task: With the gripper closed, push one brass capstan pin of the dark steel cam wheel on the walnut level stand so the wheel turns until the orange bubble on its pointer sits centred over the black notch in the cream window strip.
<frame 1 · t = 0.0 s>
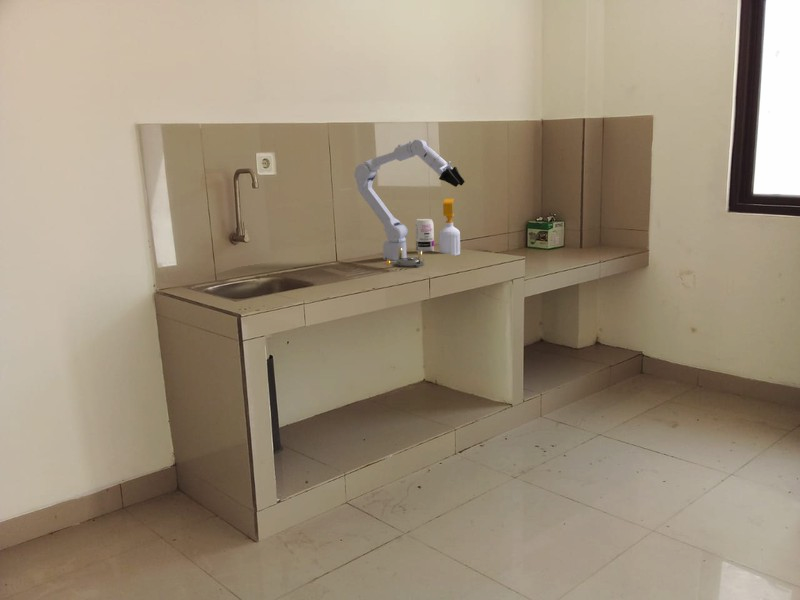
hand: (460, 184, 269), 32 cm above the table, tool tilted 50°, fingers open, 7 cm apart
supplement can: (425, 253, 308), on the table
level stand: (408, 269, 270), on the table
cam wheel: (403, 258, 269), point 5 cm above the table, hinge at -35.0°
soap bottle: (449, 255, 300), on the table
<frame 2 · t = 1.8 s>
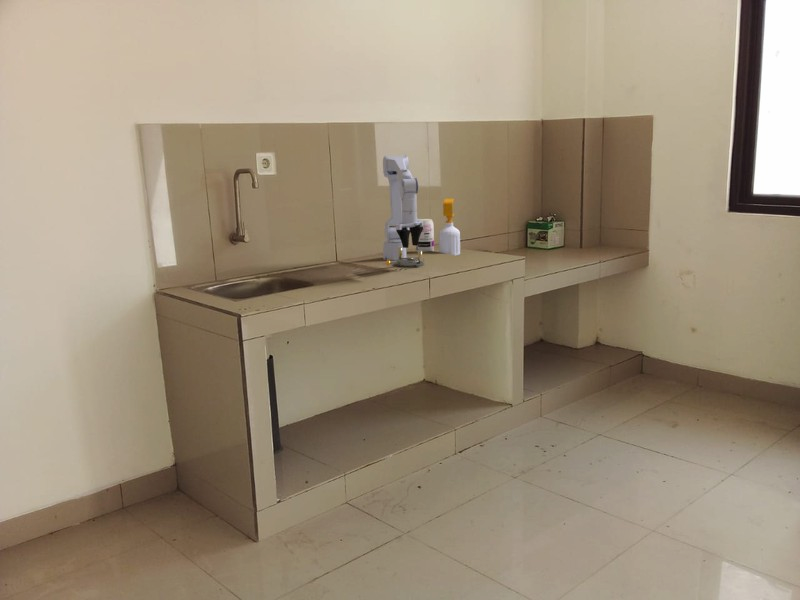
hand: (410, 246, 259), 10 cm above the table, tool pointing down, fingers open, 5 cm apart
nothing on the table moved.
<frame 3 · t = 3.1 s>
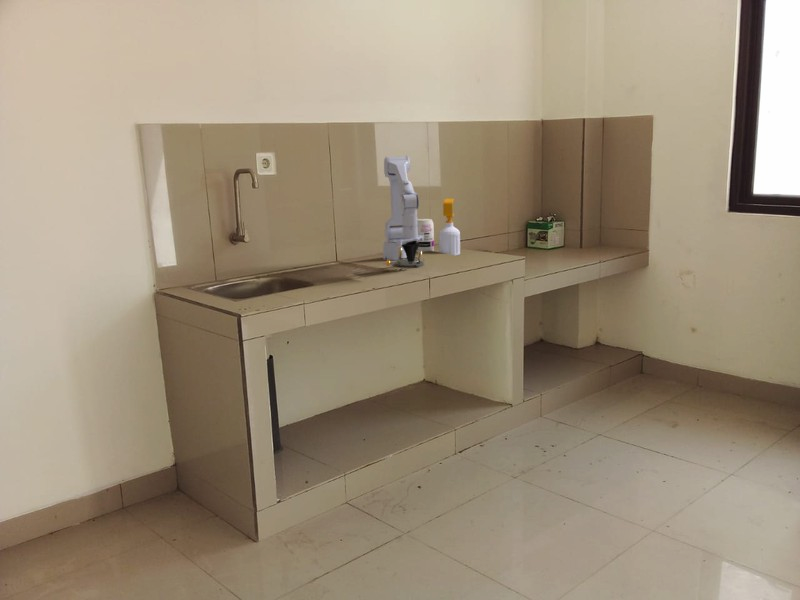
hand: (411, 261, 260), 5 cm above the table, tool pointing down, fingers closed
nothing on the table moved.
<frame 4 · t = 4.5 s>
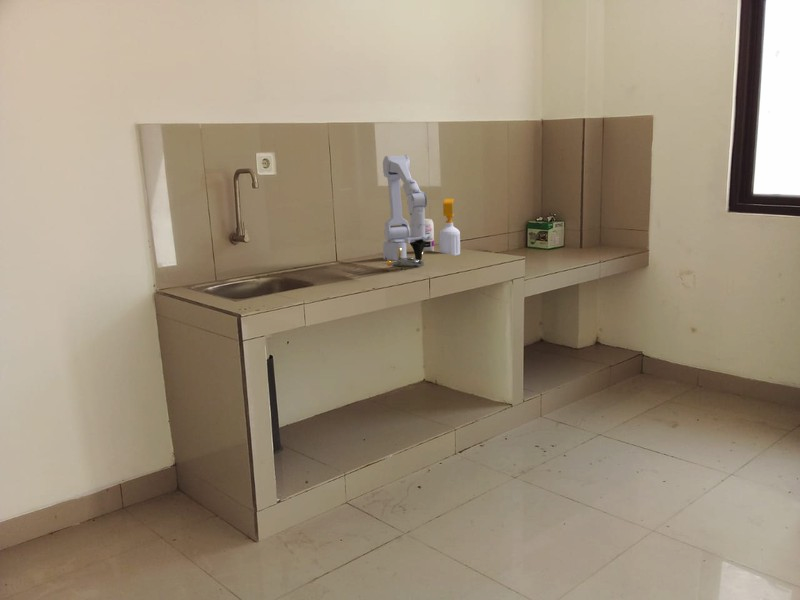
hand: (418, 259, 264), 5 cm above the table, tool pointing down, fingers closed
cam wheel: (404, 258, 269), point 5 cm above the table, hinge at -32.1°, touching gripper
everything else where it was.
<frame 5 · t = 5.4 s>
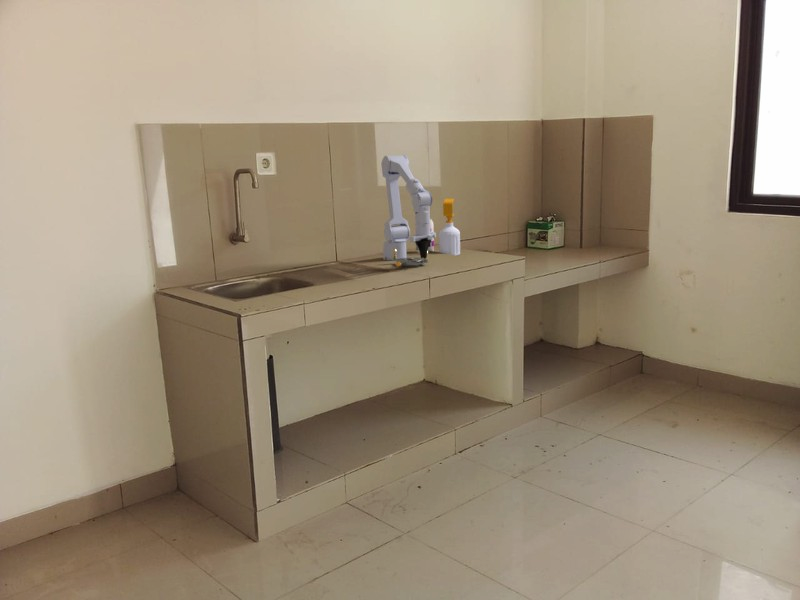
hand: (423, 258, 266), 5 cm above the table, tool pointing down, fingers closed
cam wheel: (406, 258, 268), point 5 cm above the table, hinge at -5.6°, touching gripper
everything else where it was.
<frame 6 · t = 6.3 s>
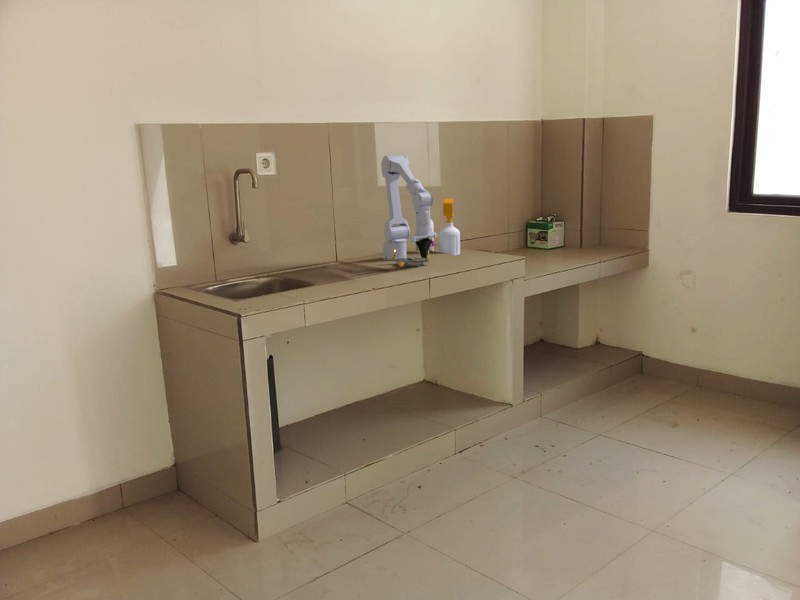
hand: (424, 257, 266), 5 cm above the table, tool pointing down, fingers closed
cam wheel: (407, 258, 268), point 5 cm above the table, hinge at 1.2°, touching gripper
everything else where it was.
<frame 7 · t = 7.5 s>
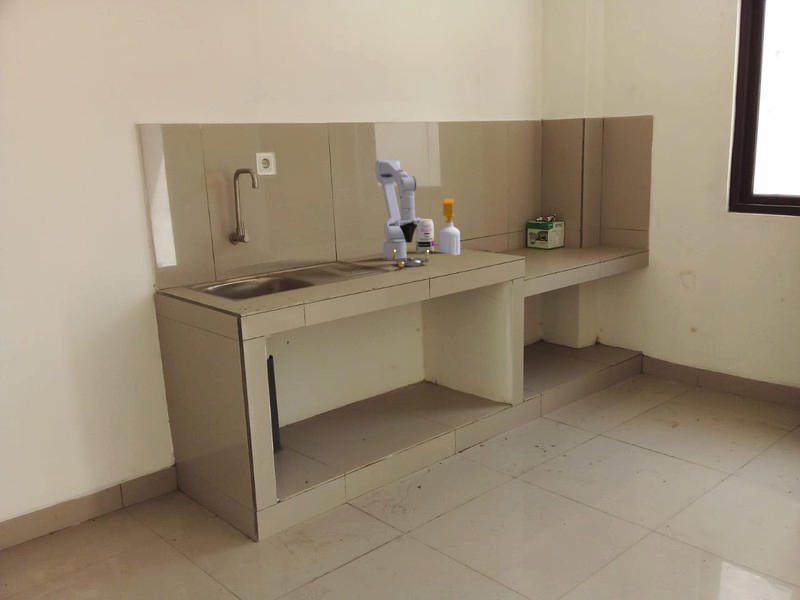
hand: (408, 242, 270), 10 cm above the table, tool pointing down, fingers closed
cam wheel: (407, 258, 268), point 5 cm above the table, hinge at 1.2°
everything else where it was.
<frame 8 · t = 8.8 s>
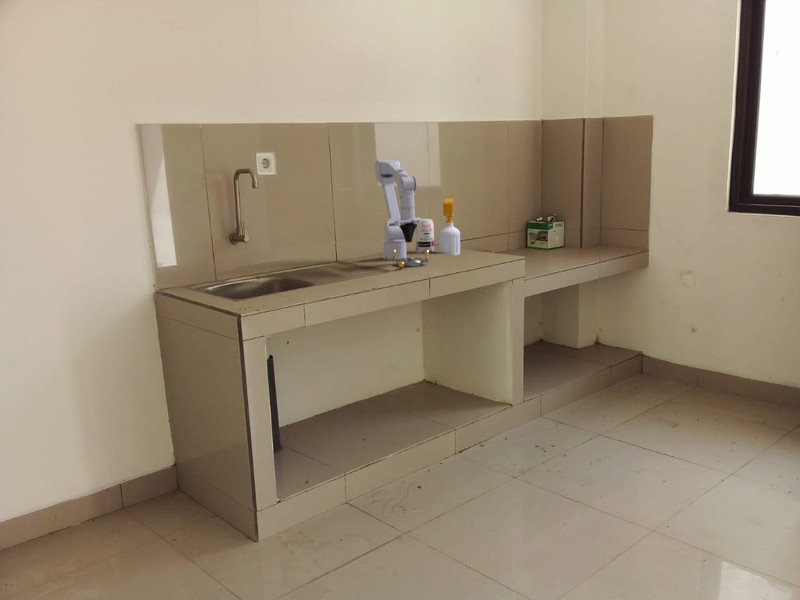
hand: (408, 242, 270), 10 cm above the table, tool pointing down, fingers closed
nothing on the table moved.
at the end: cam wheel at +1° (first picture: -35°); soap bottle moved 0.2 cm from its start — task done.
